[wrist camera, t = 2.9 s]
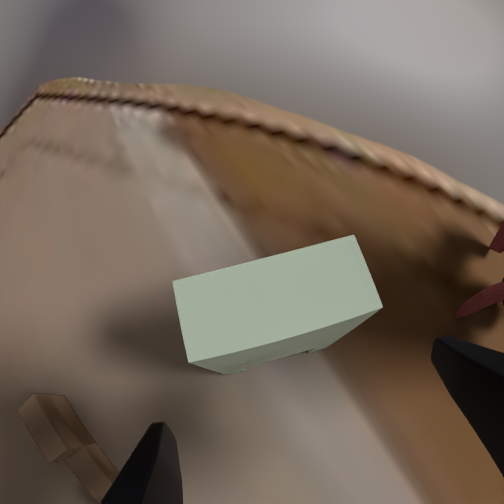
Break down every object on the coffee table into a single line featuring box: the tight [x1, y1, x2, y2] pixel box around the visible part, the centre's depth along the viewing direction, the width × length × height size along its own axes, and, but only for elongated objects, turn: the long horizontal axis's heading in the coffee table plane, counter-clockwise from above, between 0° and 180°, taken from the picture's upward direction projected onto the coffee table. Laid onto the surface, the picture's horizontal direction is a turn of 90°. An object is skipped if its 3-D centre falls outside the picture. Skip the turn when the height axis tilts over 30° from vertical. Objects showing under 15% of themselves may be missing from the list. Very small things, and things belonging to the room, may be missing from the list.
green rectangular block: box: [173, 235, 383, 375], centre depth 16 cm, size 7×3×11 cm, turn 105°
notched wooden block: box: [18, 393, 120, 504], centre depth 14 cm, size 14×2×4 cm, turn 44°
